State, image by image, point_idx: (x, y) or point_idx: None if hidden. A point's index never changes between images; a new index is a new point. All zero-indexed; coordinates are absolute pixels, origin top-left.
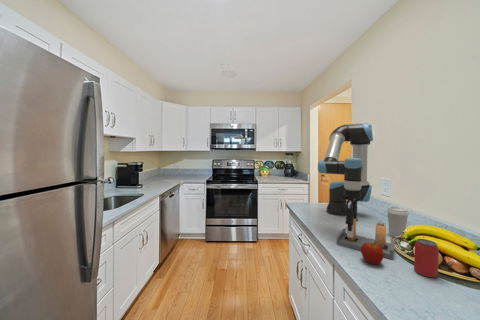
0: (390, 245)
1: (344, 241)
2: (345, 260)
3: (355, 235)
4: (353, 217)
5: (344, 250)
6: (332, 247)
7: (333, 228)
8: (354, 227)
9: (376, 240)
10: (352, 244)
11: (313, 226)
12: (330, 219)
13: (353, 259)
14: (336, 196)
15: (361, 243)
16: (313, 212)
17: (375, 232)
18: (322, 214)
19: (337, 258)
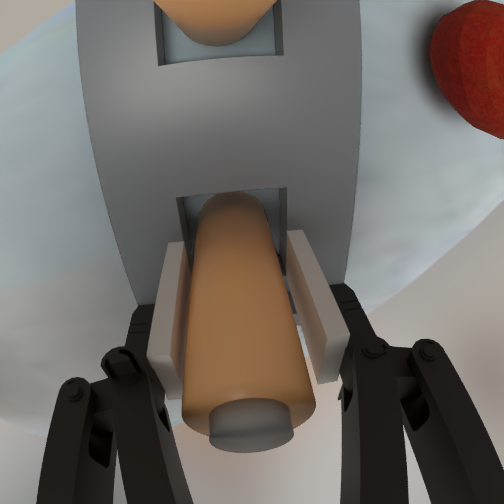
0: None
1: (331, 257)
2: (488, 183)
3: (241, 229)
4: (223, 434)
5: (394, 216)
6: (387, 276)
7: (92, 360)
8: (273, 298)
9: (261, 17)
10: (352, 199)
11: None
12: (14, 384)
13: (469, 152)
14: None
15: (283, 145)
16: (30, 428)
17: (243, 16)
18: (10, 408)
19: (483, 217)
